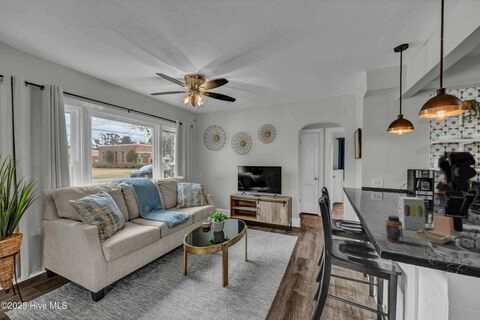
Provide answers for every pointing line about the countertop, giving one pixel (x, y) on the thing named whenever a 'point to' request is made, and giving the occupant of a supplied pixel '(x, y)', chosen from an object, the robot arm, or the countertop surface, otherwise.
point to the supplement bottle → (394, 229)
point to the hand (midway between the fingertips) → (462, 210)
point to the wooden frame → (431, 236)
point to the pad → (450, 235)
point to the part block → (443, 225)
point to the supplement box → (411, 213)
